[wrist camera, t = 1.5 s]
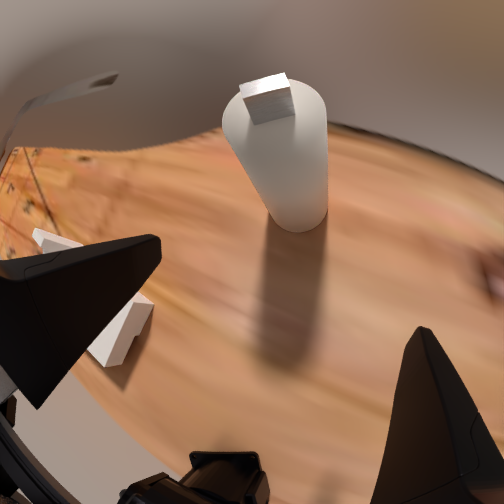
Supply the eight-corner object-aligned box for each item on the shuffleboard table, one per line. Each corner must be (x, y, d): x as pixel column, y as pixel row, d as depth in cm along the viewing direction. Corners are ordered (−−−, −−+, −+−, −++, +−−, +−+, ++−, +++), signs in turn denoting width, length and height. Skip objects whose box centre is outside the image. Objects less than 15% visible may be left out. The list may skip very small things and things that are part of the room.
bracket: (61, 295, 29) (13, 287, 22) (83, 244, 29) (35, 227, 22) (127, 363, 25) (72, 372, 18) (156, 304, 25) (101, 298, 18)
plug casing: (275, 238, 23) (213, 146, 10) (264, 185, 25) (203, 69, 11) (334, 224, 22) (342, 113, 9) (319, 171, 24) (303, 42, 10)
